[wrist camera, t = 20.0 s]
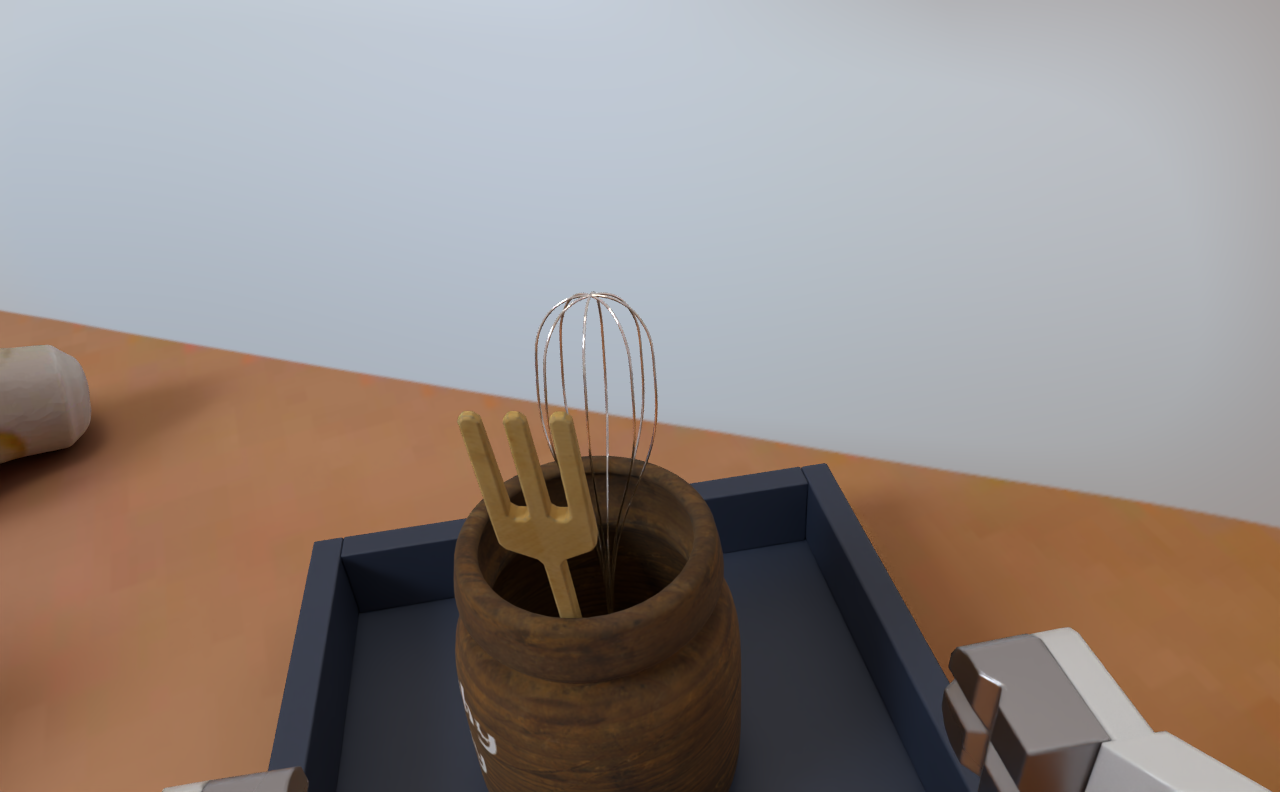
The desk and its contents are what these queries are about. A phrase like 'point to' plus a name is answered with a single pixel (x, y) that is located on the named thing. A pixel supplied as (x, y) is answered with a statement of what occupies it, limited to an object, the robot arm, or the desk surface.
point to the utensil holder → (593, 615)
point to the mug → (40, 401)
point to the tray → (769, 635)
